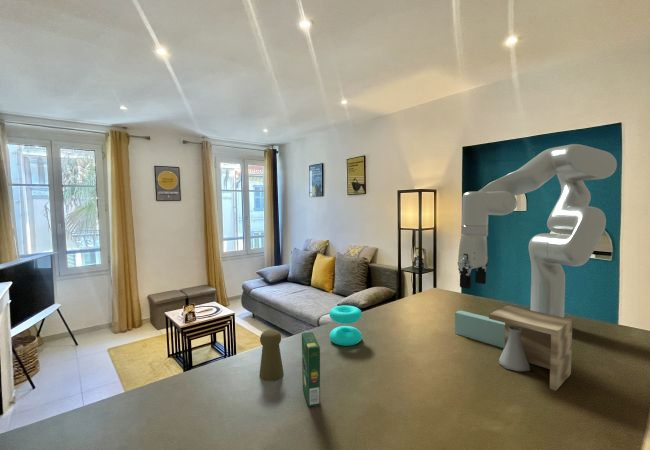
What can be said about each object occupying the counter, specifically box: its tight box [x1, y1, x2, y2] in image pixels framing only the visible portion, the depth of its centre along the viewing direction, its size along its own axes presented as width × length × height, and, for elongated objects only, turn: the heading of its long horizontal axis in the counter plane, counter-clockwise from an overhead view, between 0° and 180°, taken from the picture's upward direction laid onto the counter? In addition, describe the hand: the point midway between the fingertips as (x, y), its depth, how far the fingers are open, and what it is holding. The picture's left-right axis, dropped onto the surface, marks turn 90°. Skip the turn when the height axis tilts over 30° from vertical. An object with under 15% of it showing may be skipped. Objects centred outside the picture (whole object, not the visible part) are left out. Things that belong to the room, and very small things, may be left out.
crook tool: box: [454, 310, 505, 349], centre depth 100 cm, size 10×22×7 cm, turn 41°
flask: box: [498, 326, 531, 372], centre depth 84 cm, size 7×7×10 cm
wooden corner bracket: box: [488, 304, 573, 392], centre depth 82 cm, size 11×15×14 cm
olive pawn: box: [258, 329, 284, 382], centre depth 81 cm, size 6×6×11 cm
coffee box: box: [301, 331, 321, 408], centre depth 71 cm, size 8×3×13 cm, turn 13°
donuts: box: [329, 304, 363, 347], centre depth 101 cm, size 10×10×10 cm
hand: (472, 285), depth 102 cm, fingers open, 9 cm apart
